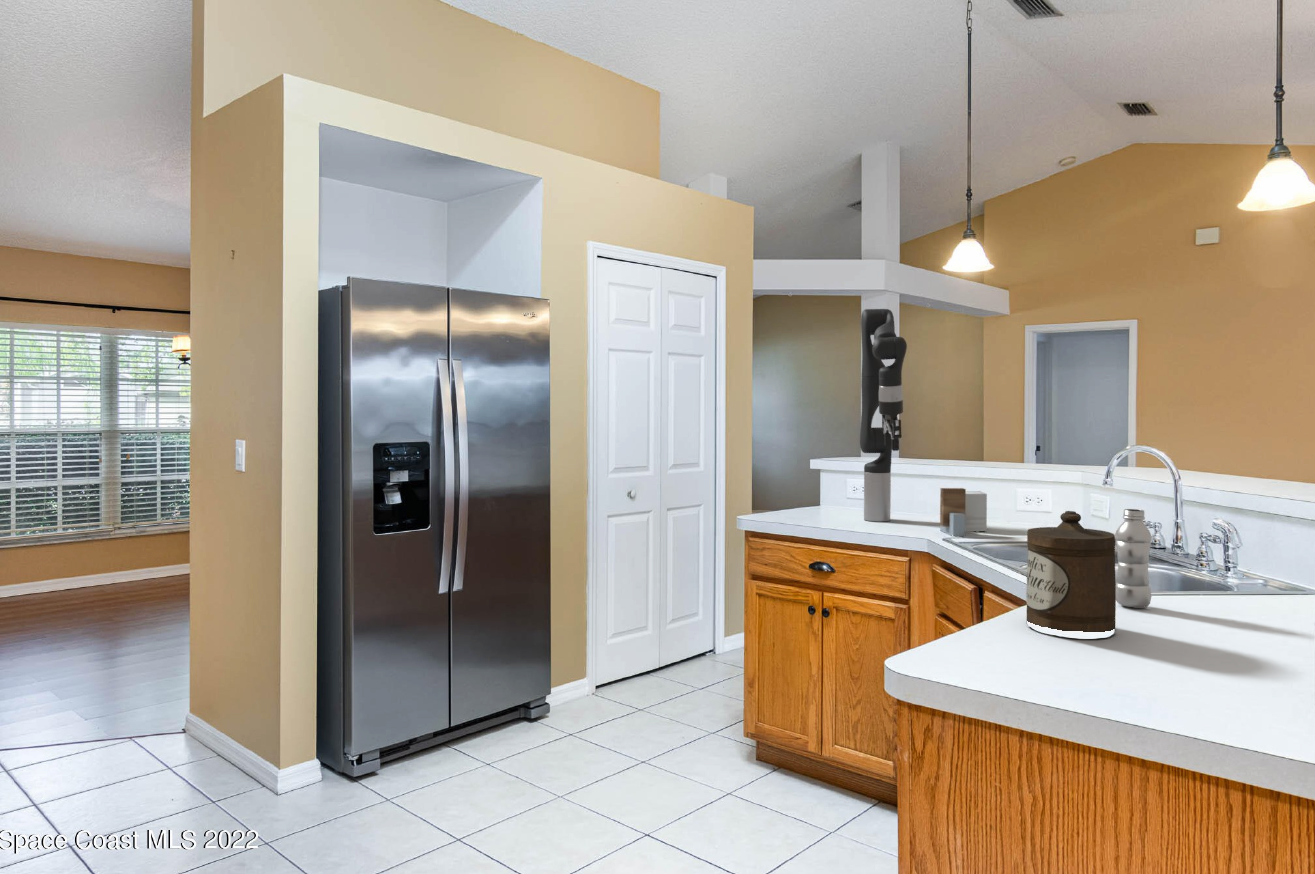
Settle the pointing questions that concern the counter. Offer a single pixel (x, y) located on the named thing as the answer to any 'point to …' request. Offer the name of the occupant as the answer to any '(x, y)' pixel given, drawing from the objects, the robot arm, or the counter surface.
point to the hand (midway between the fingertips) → (891, 447)
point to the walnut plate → (951, 503)
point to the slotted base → (955, 525)
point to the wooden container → (1071, 577)
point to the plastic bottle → (1133, 560)
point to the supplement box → (975, 511)
